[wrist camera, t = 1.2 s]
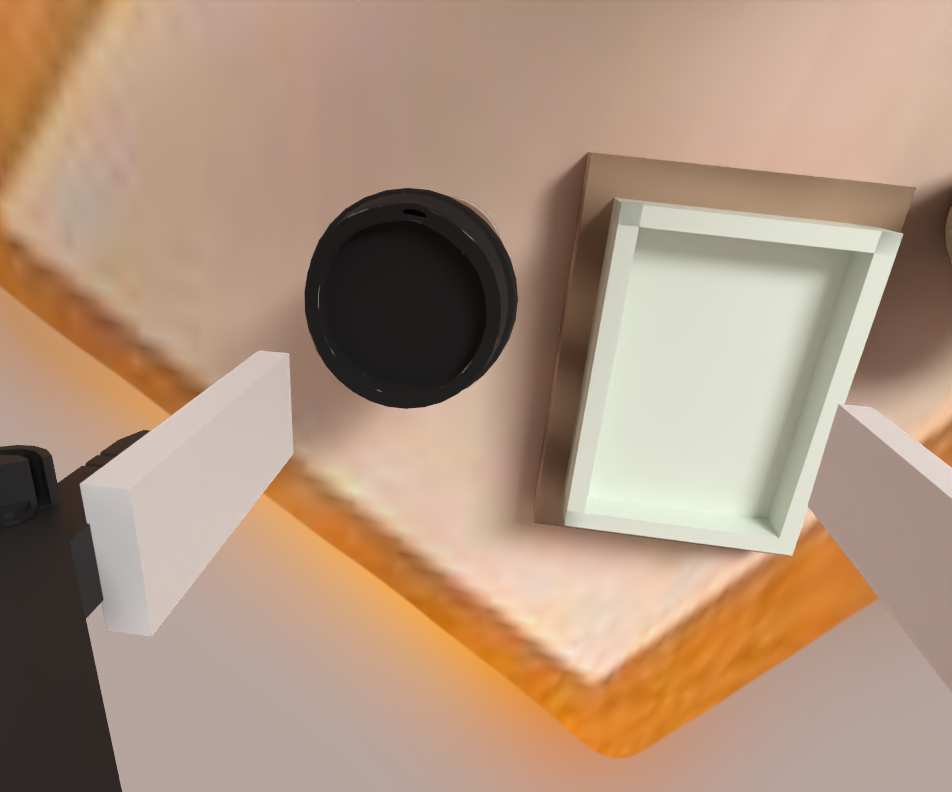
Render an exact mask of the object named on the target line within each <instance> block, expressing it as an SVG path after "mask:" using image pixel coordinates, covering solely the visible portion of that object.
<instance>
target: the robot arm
mask: <svg viewBox="0 0 952 792" xmlns="http://www.w3.org/2000/svg"><path fill="white" fill-rule="evenodd" d="M292 455H293V432H292V408H291V384H290V360H289V353H282V352H271V351H261V350H258V351H257V352H256V353H254V354H253V355H252V356H250V357H249V358H248V359H246V360H245V361H244V362H242V363H241V364H240V365H238V366H237V367H236V368H234V369H233V370H232V371H230V372H229V373H228V374H226V375H225V376H223V377H222V378H221V379H219V380H218V381H217V382H215V383H214V384H213V385H211V386H210V387H209V388H207V389H206V390H205V391H203V392H202V393H201V394H199V395H198V396H197V397H195V398H194V399H193V400H191V401H190V402H189V403H187V404H186V405H185V406H183V407H182V408H181V409H179V410H178V411H177V412H175V413H174V414H173V415H171V416H170V417H169V418H167V419H166V420H165V421H163V422H162V423H161V424H159V425H158V426H157V427H155V428H154V429H153V430H151V431H148V430H143V431H140V432H138V433H135V434H133V435H130V436H127V437H125V438H122V439H120V440H118V441H116V442H115V443H114V444H112V445H111V446H109V447H108V448H107V449H105V450H104V451H102V452H101V454H100V455H97V456H95V457H94V458H92V459H91V460H90V461H88V462H87V463H86V465H85V466H81V467H80V468H79V469H77V470H76V471H74V472H73V473H71V474H70V475H68V476H67V477H66V478H64V479H63V480H61V481H60V482H59V483H57V480H56V475H55V469H54V464H53V459H52V455H51V454H50V453H49V452H48V451H47V450H46V449H43V448H39V447H36V446H25V445H14V446H5V447H0V792H122V789H121V785H120V780H119V775H118V771H117V766H116V762H115V756H114V751H113V747H112V742H111V737H110V732H109V728H108V723H107V718H106V713H105V709H104V704H103V699H102V694H101V690H100V685H99V680H98V675H97V670H96V666H95V661H94V656H93V651H92V647H91V642H90V638H89V632H88V628H87V623H86V618H87V617H88V616H89V615H90V614H91V613H92V611H94V609H95V608H96V607H97V606H98V605H99V604H100V603H101V602H102V608H103V613H104V618H105V623H106V629H107V631H109V632H118V633H127V634H136V635H144V636H153V635H154V633H155V632H156V631H157V630H158V628H159V627H160V626H161V624H162V623H163V622H164V620H165V619H166V618H167V616H168V615H169V614H170V613H171V611H172V610H173V609H174V608H175V606H176V605H177V604H178V602H179V601H180V600H181V599H182V597H183V596H184V595H185V593H186V592H187V591H188V589H189V588H190V587H191V586H192V584H193V583H194V582H195V580H196V579H197V578H198V576H199V575H200V574H201V573H202V571H203V570H204V569H205V567H206V566H207V565H208V564H209V562H210V561H211V560H212V558H213V557H214V556H215V554H216V553H217V552H218V551H219V549H220V548H221V547H222V546H223V544H224V543H225V542H226V540H227V539H228V538H229V536H230V535H231V534H232V533H233V531H234V530H235V529H236V527H237V526H238V525H239V524H240V522H241V521H242V520H243V518H244V517H245V516H246V514H247V513H248V512H249V511H250V509H251V508H252V507H253V505H254V504H255V503H256V502H257V500H258V499H259V498H260V496H261V495H262V494H263V493H264V491H265V490H266V489H267V487H268V486H269V485H270V483H271V482H272V481H273V480H274V478H275V477H276V476H277V474H278V473H279V472H280V471H281V469H282V468H283V467H284V465H285V464H286V463H287V462H288V460H289V459H290V458H291V456H292ZM808 507H809V508H810V509H811V511H812V512H813V513H814V515H815V516H816V517H817V518H818V520H819V521H820V522H821V524H822V525H823V526H824V527H825V529H826V530H827V531H828V533H829V534H830V535H831V537H832V538H833V539H834V540H835V542H836V543H837V544H838V546H839V547H840V548H841V550H842V551H843V552H844V553H845V555H846V556H847V557H848V559H849V560H850V561H851V562H852V564H853V565H854V566H855V568H856V569H857V570H858V572H859V573H860V574H861V575H862V577H863V578H864V579H865V581H866V582H867V583H868V584H869V586H870V587H871V588H872V590H873V591H874V592H875V594H876V595H877V596H878V597H879V599H880V600H881V601H882V603H883V604H884V605H885V606H886V608H887V609H888V610H889V612H890V613H891V614H892V616H893V617H894V618H895V619H896V621H897V622H898V623H899V624H900V626H901V627H902V629H903V630H904V631H905V632H906V634H907V635H908V636H909V638H910V639H911V640H912V642H913V643H914V644H915V645H916V647H917V648H918V649H919V650H920V652H921V653H922V654H923V656H924V657H925V658H926V660H927V661H928V662H929V663H930V665H931V666H932V667H933V669H934V670H935V671H936V673H937V674H938V675H939V676H940V677H941V679H942V680H943V682H944V683H945V684H946V686H947V687H948V688H949V689H950V691H951V692H952V468H951V467H950V466H949V465H947V464H946V463H945V462H943V461H942V460H941V459H940V458H938V457H937V456H936V455H934V454H933V453H932V452H930V451H929V450H928V449H926V448H925V447H924V446H922V445H921V444H920V443H919V442H917V441H916V440H915V439H913V438H912V437H911V436H909V435H908V434H907V433H905V432H904V431H903V430H901V429H900V428H899V427H898V426H896V425H895V424H894V423H892V422H891V421H890V420H888V419H887V418H886V417H884V416H883V415H882V414H880V413H879V412H878V411H877V410H875V409H874V408H873V407H867V406H856V405H845V404H838V407H837V410H836V414H835V417H834V420H833V423H832V427H831V430H830V433H829V437H828V440H827V443H826V446H825V450H824V453H823V456H822V460H821V463H820V466H819V469H818V473H817V476H816V479H815V482H814V486H813V489H812V492H811V496H810V499H809V502H808Z"/></svg>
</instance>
